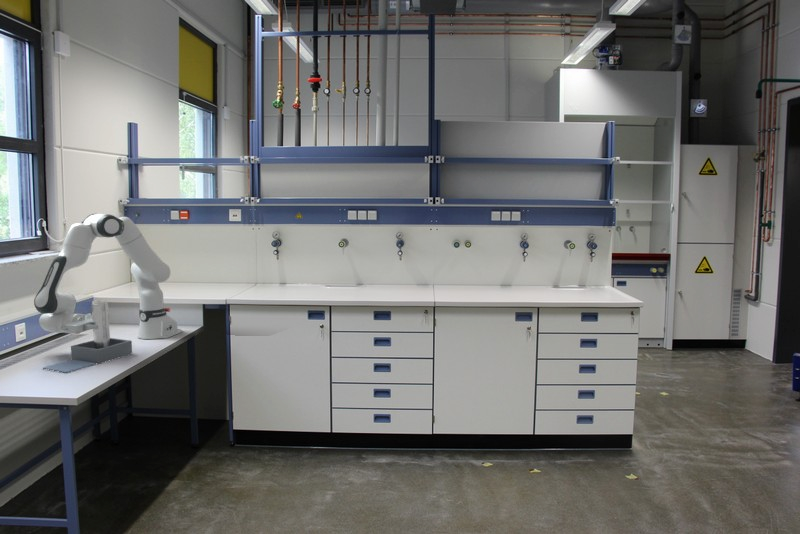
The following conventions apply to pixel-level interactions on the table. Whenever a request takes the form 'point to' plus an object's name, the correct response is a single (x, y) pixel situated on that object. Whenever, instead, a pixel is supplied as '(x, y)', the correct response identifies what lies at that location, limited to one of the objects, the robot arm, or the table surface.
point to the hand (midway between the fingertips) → (102, 325)
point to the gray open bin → (101, 351)
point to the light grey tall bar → (100, 324)
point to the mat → (69, 366)
